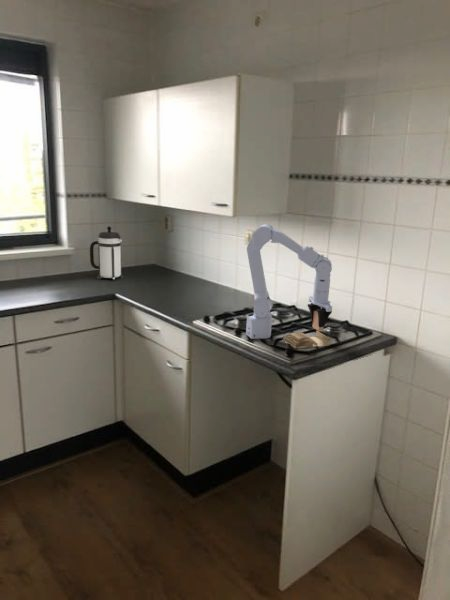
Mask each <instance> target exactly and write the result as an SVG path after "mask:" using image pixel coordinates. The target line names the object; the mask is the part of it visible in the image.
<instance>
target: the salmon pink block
mask: <svg viewBox="0 0 450 600" xmlns="http://www.w3.org/2000/svg"><path fill="white" fill-rule="evenodd" d="M311 326H312V328H313V329H314V330H316V331H319V332H323V331H324V328H325V326H324V327H319V325H318V313H317V311H314V316H313V323H312V325H311Z"/></svg>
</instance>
